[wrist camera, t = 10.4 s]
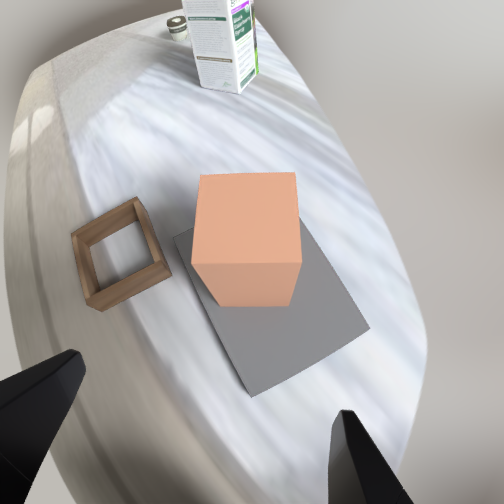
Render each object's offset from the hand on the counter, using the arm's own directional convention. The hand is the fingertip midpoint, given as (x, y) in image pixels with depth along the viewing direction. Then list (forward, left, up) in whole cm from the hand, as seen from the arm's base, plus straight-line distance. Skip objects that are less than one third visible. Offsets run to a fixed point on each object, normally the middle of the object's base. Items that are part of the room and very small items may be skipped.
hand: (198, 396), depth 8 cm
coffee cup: (+51, -13, -14) cm, 54 cm away
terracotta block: (+7, -5, -12) cm, 14 cm away
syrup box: (+32, -14, -13) cm, 37 cm away
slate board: (+6, -5, -13) cm, 15 cm away
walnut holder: (+14, +5, -13) cm, 19 cm away
